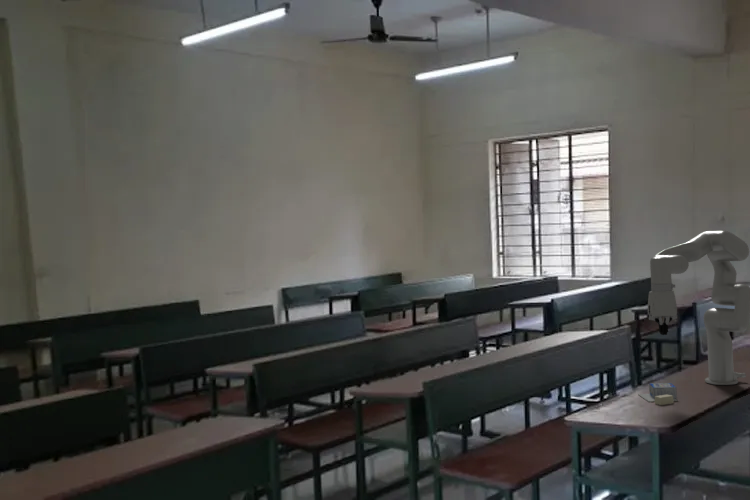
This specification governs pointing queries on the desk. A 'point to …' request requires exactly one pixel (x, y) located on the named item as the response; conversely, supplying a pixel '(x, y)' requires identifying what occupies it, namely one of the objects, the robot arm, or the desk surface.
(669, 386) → the medicine box
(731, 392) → the desk surface
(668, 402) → the pale yellow faceted block
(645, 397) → the mat
